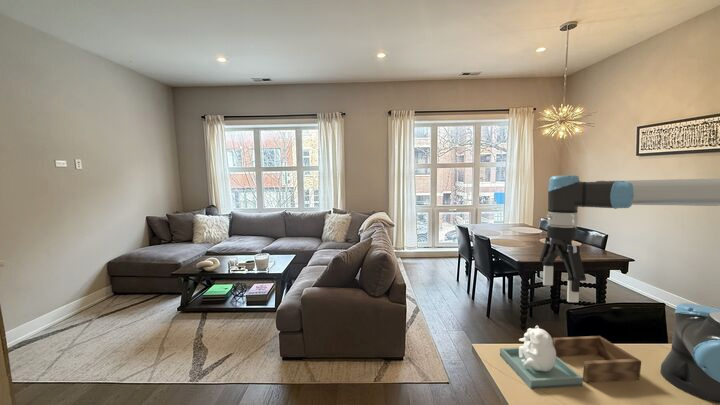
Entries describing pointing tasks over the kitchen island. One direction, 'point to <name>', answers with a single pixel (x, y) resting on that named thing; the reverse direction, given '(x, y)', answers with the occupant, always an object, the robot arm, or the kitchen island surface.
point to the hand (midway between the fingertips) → (559, 292)
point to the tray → (541, 372)
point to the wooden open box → (608, 370)
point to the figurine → (537, 350)
